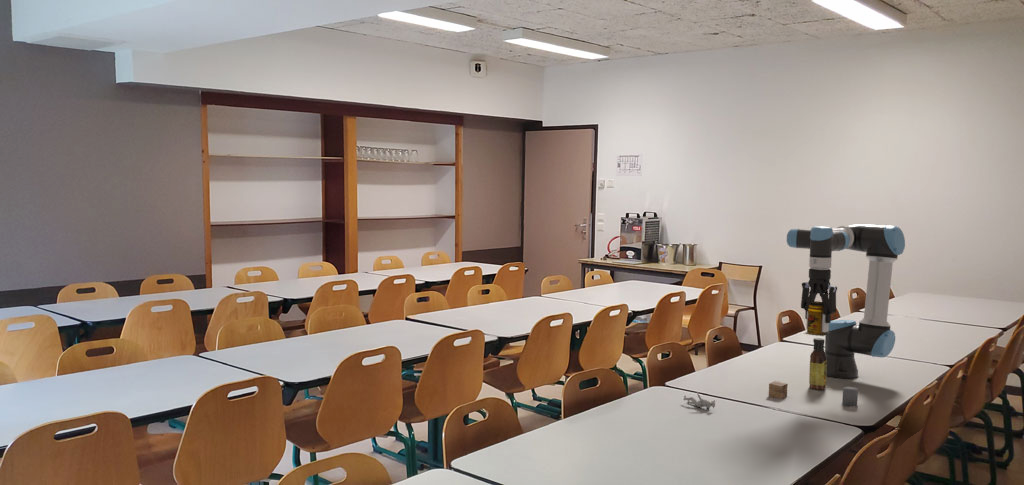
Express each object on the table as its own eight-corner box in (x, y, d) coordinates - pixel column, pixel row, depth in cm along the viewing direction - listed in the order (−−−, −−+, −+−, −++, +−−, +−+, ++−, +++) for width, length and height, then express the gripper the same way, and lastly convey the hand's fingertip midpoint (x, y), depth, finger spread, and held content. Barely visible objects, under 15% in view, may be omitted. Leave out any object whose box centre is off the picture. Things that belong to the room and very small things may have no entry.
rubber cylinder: (847, 401, 273) (848, 386, 272) (860, 405, 268) (860, 389, 268) (839, 403, 270) (840, 387, 270) (851, 407, 266) (852, 391, 265)
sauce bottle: (827, 390, 287) (829, 341, 285) (810, 389, 288) (812, 340, 286) (823, 386, 293) (826, 337, 292) (807, 385, 294) (809, 336, 293)
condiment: (802, 334, 272) (804, 302, 271) (810, 330, 278) (811, 299, 277) (823, 336, 267) (824, 304, 266) (830, 333, 273) (832, 301, 272)
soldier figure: (693, 404, 271) (721, 401, 263) (690, 415, 268) (719, 412, 260) (681, 392, 268) (710, 388, 260) (679, 403, 265) (708, 400, 257)
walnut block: (774, 393, 283) (774, 381, 282) (787, 396, 279) (787, 383, 279) (768, 396, 279) (769, 383, 279) (781, 399, 276) (781, 386, 275)
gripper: (791, 266, 277) (789, 326, 279) (836, 271, 260) (833, 335, 262) (804, 265, 280) (802, 324, 282) (849, 270, 264) (846, 333, 266)
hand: (817, 329), depth 272 cm, fingers closed on condiment, 6 cm apart
